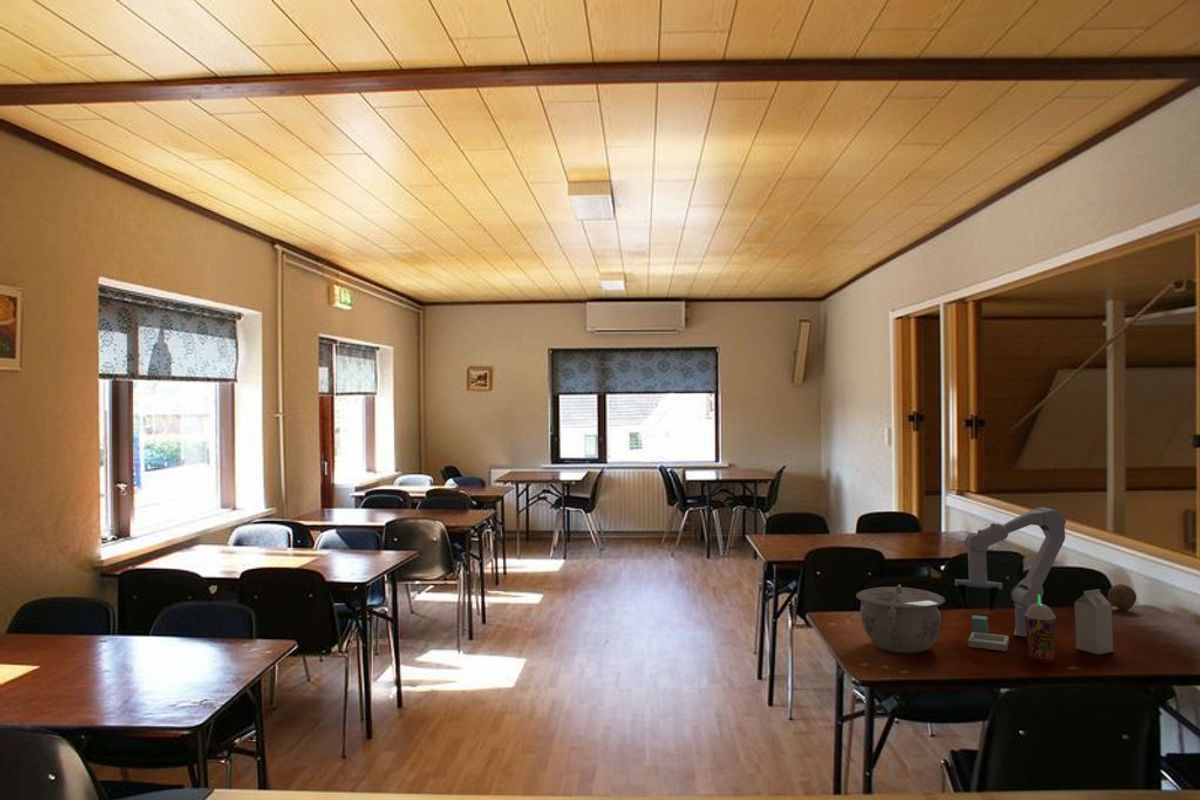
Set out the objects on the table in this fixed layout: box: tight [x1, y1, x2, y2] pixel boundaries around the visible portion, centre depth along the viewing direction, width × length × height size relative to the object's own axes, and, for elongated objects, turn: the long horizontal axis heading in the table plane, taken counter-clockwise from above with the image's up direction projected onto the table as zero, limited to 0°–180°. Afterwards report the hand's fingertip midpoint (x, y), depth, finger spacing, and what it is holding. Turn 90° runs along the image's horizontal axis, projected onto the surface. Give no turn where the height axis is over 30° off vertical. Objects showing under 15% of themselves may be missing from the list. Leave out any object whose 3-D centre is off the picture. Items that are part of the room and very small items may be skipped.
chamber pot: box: [855, 583, 946, 655], centre depth 253 cm, size 28×28×21 cm
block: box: [971, 614, 989, 634], centre depth 265 cm, size 4×4×6 cm
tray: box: [967, 631, 1010, 652], centre depth 253 cm, size 11×11×2 cm
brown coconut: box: [1107, 584, 1137, 612], centre depth 290 cm, size 9×9×10 cm
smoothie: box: [1024, 595, 1057, 664], centre depth 236 cm, size 8×8×20 cm
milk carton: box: [1073, 588, 1114, 655], centre depth 244 cm, size 7×7×19 cm
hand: (979, 608), depth 265 cm, fingers open, 7 cm apart
